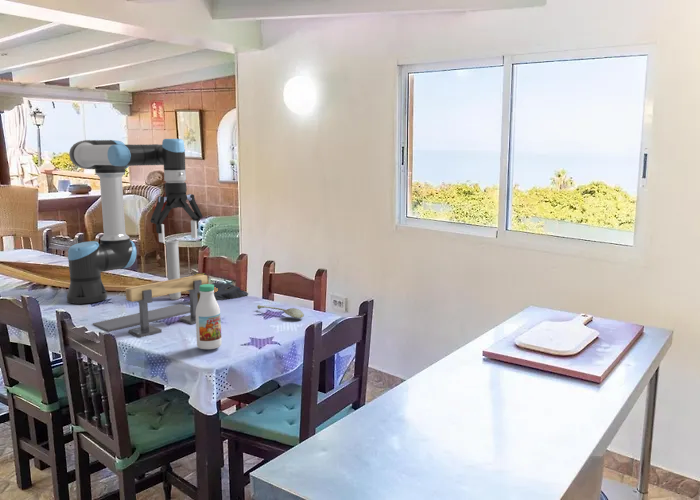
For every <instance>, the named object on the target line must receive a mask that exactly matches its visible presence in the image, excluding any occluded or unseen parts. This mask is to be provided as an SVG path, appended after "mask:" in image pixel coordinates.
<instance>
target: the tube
mask: <svg viewBox="0 0 700 500" xmlns="http://www.w3.org/2000/svg"><path fill="white" fill-rule="evenodd" d="M164 243H165V246H166V249H165V250H166V266H167V267H166V268H167V280H173V279H178V278H181V275H180V273H181V271H180V253H179V243H180V242H179V240H176V239H170V240H165V242H164ZM181 296H182V292H178V293H173V294H168V297H169V299H170V300H171V301H172V300H173V301H177V300H179V299H180V298H181Z"/></svg>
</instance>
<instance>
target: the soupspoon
mask: <svg viewBox="0 0 700 500" xmlns="http://www.w3.org/2000/svg"><path fill="white" fill-rule="evenodd" d="M256 308H257V309H258V310H260V309H264V308H266V309H273V310H278V311H283V313H284V314H286V315H288V316H290V317H292V318H294V319H295V318H296V319H301V318H303V317H304V316H305V314H304V312H303V311H302V310H301V309H299V308H295V307H290V308H288V309H284V308H279V307H274V306H267V305H266V306H265V305H261V304H258V305H257V307H256Z"/></svg>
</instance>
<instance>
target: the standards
mask: <svg viewBox="0 0 700 500" xmlns="http://www.w3.org/2000/svg"><path fill="white" fill-rule="evenodd" d="M200 285H202V280H195V281H193V289H192V290H187V291H186V292H189V303H190V305H189V307H190V313H189V315H185V316H182V317H180V316H179V317H178V320H179V322H183V323H186V324H189V325H194V324H195V325H196V307H197V304H198V298H197V293H199V292H200V290H199V286H200ZM136 302H137V303H138V308H139V309H138V310H139V313H140V325H139V327H135V328H131V329H128V330H127V332H128V334H131V335H133V336H136V337H138V338H144V337H147V336H151V335H155V334H159V333H162V328H159V327H157V326H153V325H150V322H149V320H148V311H149V305H148V304H150V303H153V298H152V290H151V289H148V290H143V291H142V300H139V301H136Z"/></svg>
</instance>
